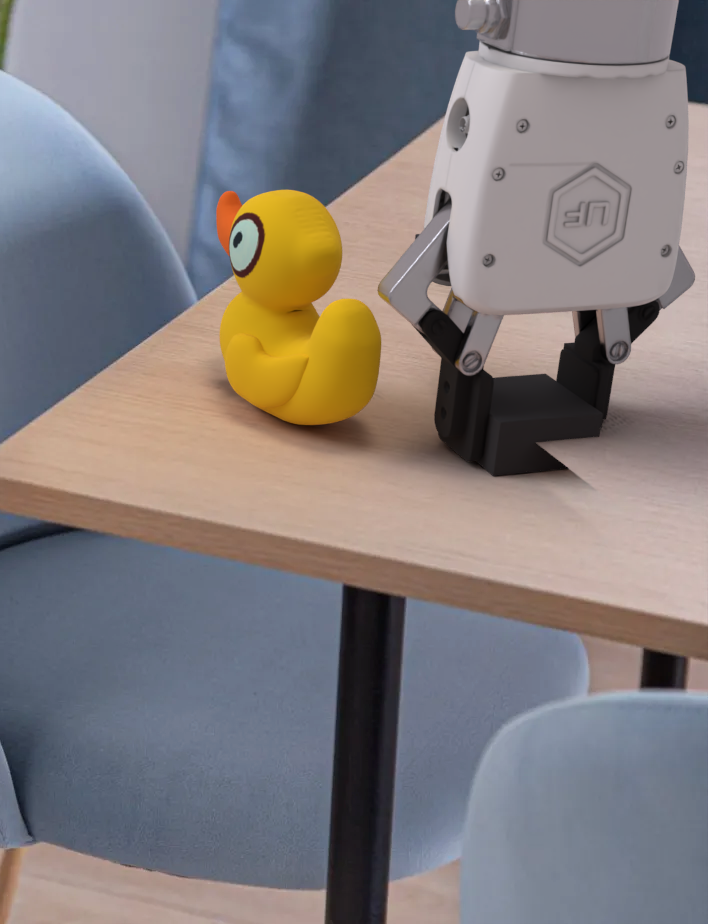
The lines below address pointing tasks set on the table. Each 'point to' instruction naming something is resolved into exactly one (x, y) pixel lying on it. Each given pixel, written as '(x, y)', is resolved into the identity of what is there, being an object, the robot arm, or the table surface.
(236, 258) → the duckling
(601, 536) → the table surface
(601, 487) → the table surface
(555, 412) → the top pad
